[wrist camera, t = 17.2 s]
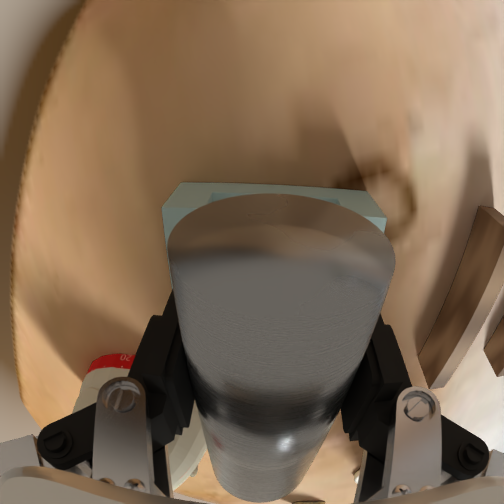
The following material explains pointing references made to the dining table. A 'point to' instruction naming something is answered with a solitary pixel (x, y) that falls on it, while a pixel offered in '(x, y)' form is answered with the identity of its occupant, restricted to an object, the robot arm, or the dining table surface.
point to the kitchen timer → (184, 446)
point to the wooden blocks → (469, 304)
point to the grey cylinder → (274, 327)
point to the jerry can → (309, 503)
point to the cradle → (201, 194)
